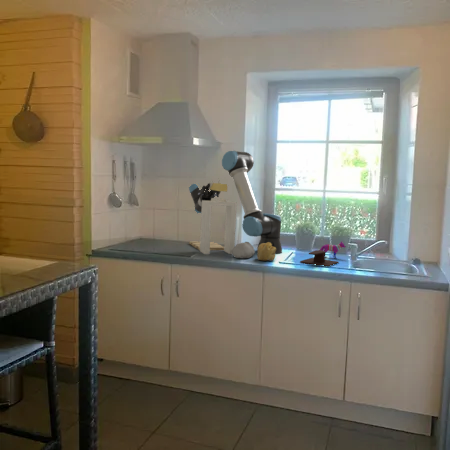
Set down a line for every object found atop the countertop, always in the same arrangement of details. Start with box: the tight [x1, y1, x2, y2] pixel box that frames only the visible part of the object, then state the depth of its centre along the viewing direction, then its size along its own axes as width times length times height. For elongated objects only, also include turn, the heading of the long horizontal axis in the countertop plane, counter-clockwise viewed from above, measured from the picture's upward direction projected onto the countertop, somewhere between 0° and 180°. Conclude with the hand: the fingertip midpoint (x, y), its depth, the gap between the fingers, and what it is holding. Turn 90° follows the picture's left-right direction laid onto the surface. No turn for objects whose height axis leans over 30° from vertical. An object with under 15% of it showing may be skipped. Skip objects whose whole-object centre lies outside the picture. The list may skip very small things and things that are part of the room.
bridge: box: [199, 198, 238, 255], centre depth 277 cm, size 10×18×32 cm, turn 108°
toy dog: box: [319, 241, 346, 259], centre depth 280 cm, size 4×18×10 cm, turn 66°
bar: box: [210, 182, 228, 192], centre depth 278 cm, size 22×4×4 cm, turn 19°
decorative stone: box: [231, 241, 256, 259], centre depth 268 cm, size 17×10×10 cm
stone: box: [256, 242, 276, 262], centre depth 261 cm, size 13×10×10 cm
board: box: [188, 240, 224, 251], centre depth 298 cm, size 26×16×2 cm, turn 18°
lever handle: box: [299, 249, 340, 267], centre depth 259 cm, size 16×7×20 cm
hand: (215, 182), depth 281 cm, fingers closed on bar, 4 cm apart
